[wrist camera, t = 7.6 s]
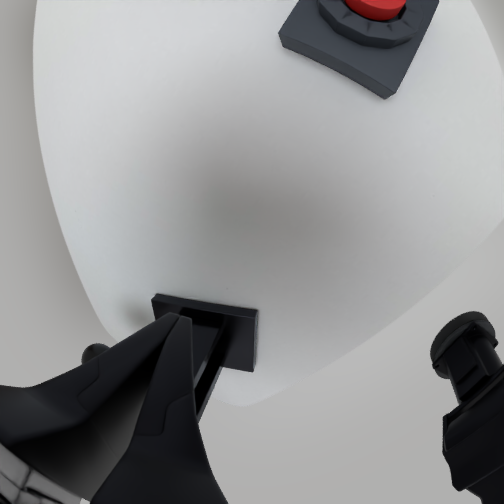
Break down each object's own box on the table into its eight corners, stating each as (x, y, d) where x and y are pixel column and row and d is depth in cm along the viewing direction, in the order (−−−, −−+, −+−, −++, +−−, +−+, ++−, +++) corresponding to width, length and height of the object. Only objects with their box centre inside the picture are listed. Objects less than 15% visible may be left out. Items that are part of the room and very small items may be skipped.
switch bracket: (167, 346, 28) (113, 425, 17) (156, 293, 25) (82, 374, 15) (255, 364, 26) (223, 464, 16) (257, 309, 23) (215, 423, 13)
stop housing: (336, -35, 11) (337, -65, 6) (428, 13, 11) (448, -9, 6) (282, 46, 15) (273, 22, 11) (384, 99, 15) (404, 88, 11)
